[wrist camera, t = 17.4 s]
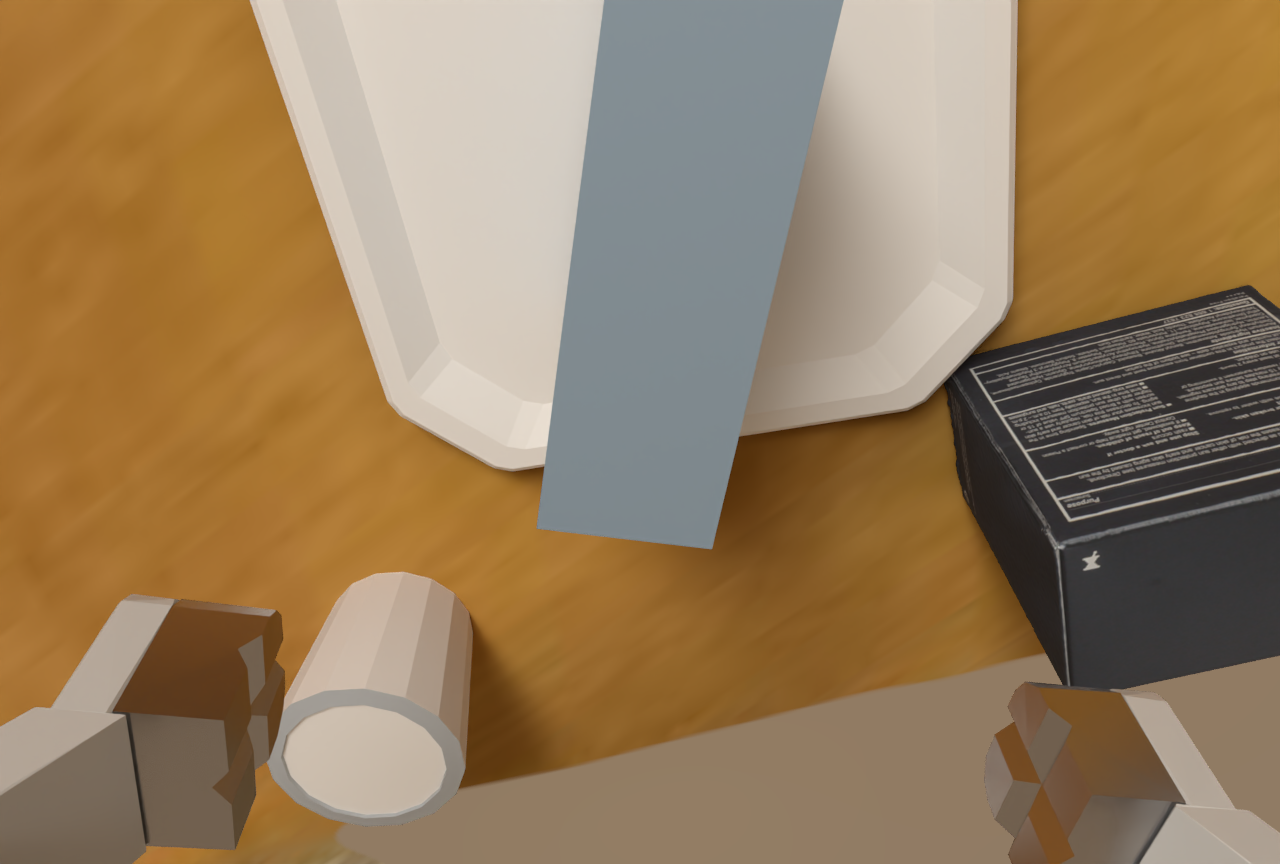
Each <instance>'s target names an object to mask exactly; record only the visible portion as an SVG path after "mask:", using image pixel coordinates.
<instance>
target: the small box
mask: <svg viewBox="0 0 1280 864" xmlns="http://www.w3.org/2000/svg"><path fill="white" fill-rule="evenodd" d="M944 385H945V388H946V390H947V392H948V398H949V399H948V402H947V403H948V405H949V406H950V413H951V418H952V427H953V430H954V445H955V447H956V455H957V461H956V466H957V472H958V475H959V480H960V484H961V486H962V491H963V496H964V499H965V500H966V502H967V504H968V505H969V507H970V509H971V510H972V513H973V515H974V517H975V518H976V520H977V523H978V524H979V526H980V528H981V530H982V531H983V533H984V535H985V537H986V539H987V541H988V542H989V545H990V547H991V549H992V551H993V552H994V555H995V557H996V558H997V560H998V563H999V564H1000V566H1001V568H1002V570H1003V571H1004V573H1005V575H1006V577H1007V579H1008V581H1009V583H1010V585H1011V587H1012V589H1013V591H1014V593H1015V594H1016V596H1017V598H1018V600H1019V602H1020V604H1021V606H1022V608H1023V610H1024V611H1025V613H1026V616H1027V618H1028V619H1029V621H1030V623H1031V625H1032V627H1033V628H1034V631H1035V633H1036V635H1037V637H1038V639H1039V641H1040V643H1041V645H1042V646H1043V648H1044V650H1045V652H1046V654H1047V656H1048V657H1049V659H1050V661H1051V663H1052V665H1053V667H1054V669H1055V671H1056V673H1057V675H1058V676H1059V678H1060V680H1061V682H1062V684H1063V685H1068V686H1079V687H1091V688H1102V689H1107V690H1110V689H1121V690H1122V689H1127V688H1131V687H1136V686H1140V685H1144V684H1149V683H1153V682H1158V681H1163V680H1167V679H1172V678H1177V677H1181V676H1186V675H1190V674H1196V673H1200V672H1205V671H1210V670H1214V669H1219V668H1224V667H1228V666H1233V665H1237V664H1242V663H1247V662H1252V661H1256V660H1261V659H1266V658H1270V657H1275V656H1279V655H1280V309H1279V308H1278V307H1276V306H1275V305H1274V304H1273V303H1272V302H1271V301H1269V300H1267V299H1266V298H1265V297H1263V296H1262V295H1261V294H1260V293H1259V292H1258V291H1257V290H1256V289H1254V288H1253V287H1252V286H1249V285H1247V286H1243V287H1239V288H1235V289H1231V290H1227V291H1222V292H1219V293H1215V294H1210V295H1206V296H1202V297H1198V298H1195V299H1191V300H1187V301H1184V302H1179V303H1175V304H1171V305H1167V306H1163V307H1159V308H1155V309H1151V310H1147V311H1144V312H1140V313H1136V314H1132V315H1128V316H1124V317H1120V318H1116V319H1112V320H1108V321H1104V322H1101V323H1097V324H1093V325H1089V326H1085V327H1081V328H1077V329H1073V330H1069V331H1065V332H1061V333H1057V334H1053V335H1050V336H1046V337H1042V338H1038V339H1034V340H1030V341H1026V342H1022V343H1019V344H1014V345H1010V346H1006V347H1002V348H998V349H995V350H992V351H987V352H983V353H980V354H975V355H972V356H969V357H968V358H967V359H966V360H965V361H964V362H963V363H962V364H961V365H960V366H959V367H958V368H957V369H956V370H955V372H954V373H953V374H952V375H951V376H950V377H949V378H948V379H947V380H946V381H945V382H944Z"/></svg>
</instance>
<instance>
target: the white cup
mask: <svg viewBox="0 0 1280 864" xmlns="http://www.w3.org/2000/svg"><path fill="white" fill-rule="evenodd" d="M472 643H473V630H472V625H471V620H470V615H469V612H468V610H467V609H466V608H465V606H464V605H463V604H462V602H461V601H460V600H459V598H458V597H457V596H456V594H455V593H453V592H452V591H450V590H449V589H447V588H445V587H444V586H442V585H441V584H439V583H437V582H436V581H434V580H433V579H430V578H426V577H422V576H418V575H414V574H410V573H406V572H395V573H378V574H374V575H372V576H369V577H367V578H364V579H362V580H360V581H357V582H355V583H353V584H352V585H351V586H350V587H349V588H348V589H347V590H346V591H345V592H344V593H343V594H342V595H341V596H340V597H339V599H338V600H337V601H336V603H335V605H334V607H333V609H332V610H331V612H330V614H329V616H328V618H327V620H326V622H325V624H324V625H323V627H322V629H321V631H320V633H319V635H318V637H317V638H316V640H315V642H314V644H313V646H312V648H311V650H310V652H309V653H308V655H307V657H306V659H305V661H304V663H303V665H302V666H301V668H300V670H299V672H298V674H297V676H296V678H295V680H294V681H293V683H292V685H291V687H290V689H289V691H288V693H287V694H286V696H285V698H284V707H283V713H282V718H281V722H280V727H279V731H278V736H277V739H276V742H275V745H274V747H273V750H272V753H271V756H270V759H269V760H268V761H267V763H268V766H269V769H270V772H271V774H272V777H273V780H274V781H275V782H276V783H277V784H278V785H279V786H280V787H281V788H282V789H283V790H284V791H285V792H286V793H287V794H288V795H289V796H290V797H291V798H292V799H293V800H294V801H295V802H296V803H298V804H300V805H302V806H304V807H306V808H308V809H310V810H312V811H314V812H316V813H318V814H320V815H322V816H324V817H326V818H328V819H331V820H336V821H341V822H346V823H350V824H355V825H361V826H367V827H368V826H385V825H386V826H387V825H403V824H405V823H408V822H411V821H414V820H417V819H420V818H422V817H425V816H428V815H431V814H434V813H435V812H436V811H437V810H439V809H440V808H441V807H442V806H443V805H444V804H445V803H447V802H448V801H449V800H450V799H451V798H452V797H453V796H455V795H456V793H457V791H458V788H459V785H460V782H461V780H462V777H463V774H464V772H465V767H466V750H467V732H468V714H469V696H470V679H471V661H472Z"/></svg>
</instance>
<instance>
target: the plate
mask: <svg viewBox="0 0 1280 864" xmlns="http://www.w3.org/2000/svg"><path fill="white" fill-rule="evenodd" d="M250 3H251V6H252V8H253V11H254V14H255V17H256V20H257V23H258V26H259V29H260V32H261V35H262V38H263V40H264V43H265V46H266V49H267V52H268V55H269V58H270V61H271V64H272V67H273V70H274V72H275V75H276V78H277V81H278V84H279V87H280V90H281V93H282V96H283V99H284V102H285V104H286V107H287V110H288V113H289V116H290V119H291V122H292V125H293V128H294V131H295V134H296V136H297V139H298V142H299V145H300V148H301V151H302V154H303V157H304V160H305V163H306V166H307V168H308V171H309V174H310V177H311V180H312V183H313V186H314V189H315V192H316V195H317V198H318V200H319V203H320V206H321V209H322V212H323V215H324V218H325V221H326V224H327V227H328V230H329V232H330V235H331V238H332V241H333V244H334V247H335V250H336V253H337V256H338V259H339V262H340V264H341V267H342V270H343V273H344V276H345V279H346V282H347V285H348V288H349V291H350V294H351V296H352V299H353V302H354V305H355V308H356V311H357V314H358V317H359V320H360V323H361V326H362V328H363V331H364V334H365V337H366V340H367V343H368V346H369V349H370V352H371V355H372V358H373V360H374V363H375V366H376V369H377V372H378V375H379V378H380V381H381V384H382V387H383V390H384V392H385V395H386V398H387V401H388V402H389V404H390V405H391V406H392V407H393V408H394V409H395V411H396V412H397V413H398V414H399V415H400V416H401V417H403V418H405V419H407V420H408V421H410V422H412V423H414V424H415V425H417V426H419V427H421V428H423V429H424V430H426V431H428V432H430V433H432V434H433V435H435V436H437V437H439V438H441V439H442V440H444V441H446V442H448V443H450V444H451V445H453V446H455V447H457V448H459V449H460V450H462V451H464V452H466V453H468V454H469V455H471V456H473V457H475V458H476V459H478V460H480V461H482V462H484V463H485V464H487V465H489V466H491V467H493V468H496V469H502V470H507V471H519V470H526V469H532V468H539V467H544V466H545V459H546V451H547V443H548V435H549V427H550V419H551V411H552V404H553V396H554V388H555V380H556V372H557V364H558V356H559V349H560V341H561V333H562V325H563V317H564V309H565V302H566V294H567V286H568V278H569V270H570V263H571V255H572V247H573V239H574V231H575V224H576V216H577V208H578V200H579V192H580V185H581V177H582V169H583V161H584V153H585V146H586V138H587V130H588V122H589V114H590V106H591V99H592V91H593V83H594V75H595V67H596V60H597V52H598V44H599V36H600V28H601V21H602V13H603V5H604V0H250ZM1017 14H1018V0H844V1H843V6H842V10H841V14H840V18H839V22H838V26H837V31H836V35H835V39H834V43H833V47H832V51H831V56H830V60H829V64H828V68H827V72H826V76H825V81H824V85H823V89H822V93H821V97H820V101H819V106H818V110H817V114H816V118H815V122H814V126H813V131H812V135H811V139H810V143H809V147H808V151H807V155H806V160H805V164H804V168H803V172H802V176H801V180H800V185H799V189H798V193H797V197H796V201H795V205H794V210H793V214H792V218H791V222H790V226H789V230H788V235H787V239H786V243H785V247H784V251H783V255H782V260H781V264H780V268H779V272H778V276H777V280H776V285H775V289H774V293H773V297H772V301H771V305H770V310H769V314H768V318H767V322H766V326H765V330H764V335H763V339H762V343H761V347H760V351H759V355H758V360H757V364H756V368H755V372H754V376H753V380H752V385H751V389H750V393H749V397H748V401H747V405H746V410H745V414H744V418H743V422H742V426H741V430H740V434H739V436H746V435H752V434H759V433H765V432H772V431H778V430H785V429H791V428H798V427H804V426H811V425H817V424H824V423H830V422H837V421H843V420H850V419H856V418H862V417H869V416H875V415H882V414H888V413H895V412H901V411H908V410H910V409H912V408H914V407H916V406H918V405H920V404H922V403H923V402H925V401H927V400H928V399H929V398H930V397H931V395H932V394H933V393H934V392H935V391H936V390H937V389H938V388H939V387H940V386H941V385H942V384H943V383H944V382H945V381H946V380H947V379H948V378H949V377H950V376H951V375H952V374H953V373H954V372H955V370H956V369H957V368H958V367H959V366H960V365H961V364H962V363H963V362H964V361H965V360H966V359H967V358H968V357H969V356H970V355H971V354H972V353H973V352H974V351H975V350H976V349H977V348H978V347H979V345H980V344H981V343H982V342H983V341H984V340H985V339H986V338H987V337H988V336H989V335H990V334H991V333H992V332H993V331H994V330H995V329H996V328H997V327H998V326H999V325H1000V324H1001V323H1002V322H1003V320H1004V319H1005V317H1006V315H1007V313H1008V310H1009V308H1010V306H1011V304H1012V301H1013V264H1014V201H1015V139H1016V76H1017Z"/></svg>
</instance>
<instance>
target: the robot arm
mask: <svg viewBox="0 0 1280 864" xmlns="http://www.w3.org/2000/svg"><path fill="white" fill-rule="evenodd" d="M282 641H283V629H282V616H281V614H280V613H279V612H278V611H277V610H270V609H262V608H253V607H245V606H237V605H228V604H220V603H211V602H203V601H195V600H186V599H181V600H176V599H169V598H161V597H152V596H144V595H136V594H131V595H129V596H128V597H127V598H125V599H124V600H122V601H121V602H120V603H119V604H118V605H117V607H116V608H115V610H114V611H113V613H112V614H111V616H110V617H109V619H108V620H107V622H106V624H105V625H104V627H103V628H102V630H101V631H100V633H99V634H98V636H97V637H96V639H95V640H94V642H93V644H92V645H91V647H90V648H89V650H88V651H87V653H86V654H85V656H84V657H83V659H82V660H81V662H80V664H79V665H78V667H77V668H76V670H75V671H74V673H73V674H72V676H71V677H70V679H69V680H68V682H67V684H66V685H65V687H64V688H63V690H62V691H61V693H60V694H59V696H58V697H57V699H56V700H55V702H54V704H53V705H52V707H51V708H41V707H34V708H32V709H31V710H29V711H27V712H25V713H24V714H22V715H20V716H18V717H17V718H15V719H13V720H11V721H9V722H8V723H6V724H4V725H2V726H1V727H0V864H132V863H133V862H134V861H136V860H137V859H138V858H139V857H140V856H141V855H142V854H144V853H145V852H146V846H161V847H183V848H204V849H226V850H235V849H236V846H237V844H238V841H239V838H240V836H241V833H242V830H243V828H244V825H245V823H246V820H247V817H248V815H249V812H250V809H251V807H252V804H253V802H254V799H255V796H256V785H255V770H256V769H257V768H258V767H260V766H261V765H262V764H264V763H265V762H267V761H268V760H269V759H270V756H271V753H272V750H273V747H274V745H275V742H276V739H277V736H278V731H279V727H280V722H281V718H282V713H283V707H284V695H285V670H284V669H283V668H282V667H281V666H280V665H279V664H278V663H277V662H276V660H275V658H276V656H277V653H278V651H279V648H280V646H281V643H282ZM1008 709H1009V711H1010V713H1011V716H1012V718H1013V720H1014V722H1013V723H1011V724H1010V725H1008V726H1007V727H1005V728H1004V729H1002V730H1001V731H1000V732H998V733H997V734H995V735H994V737H993V740H992V742H991V745H990V747H989V750H988V752H987V755H986V763H985V777H984V781H985V788H986V793H987V800H988V802H989V805H990V808H991V810H992V813H993V816H994V819H995V820H996V821H997V822H998V823H1000V825H1001V826H1003V827H1004V828H1005V829H1006V830H1007V831H1008V832H1009V833H1010V834H1011V835H1013V837H1014V838H1015V839H1014V841H1013V844H1012V846H1011V849H1010V851H1009V854H1008V855H1009V858H1010V860H1011V863H1012V864H1280V833H1279V832H1278V831H1276V830H1275V829H1274V828H1272V827H1271V826H1269V825H1268V824H1267V823H1265V822H1264V821H1262V820H1261V819H1260V818H1258V817H1257V816H1256V815H1255V814H1253V813H1252V812H1250V811H1247V810H1237V809H1235V807H1234V806H1233V804H1232V803H1231V801H1230V799H1229V798H1228V796H1227V795H1226V793H1225V792H1224V790H1223V789H1222V787H1221V785H1220V784H1219V782H1218V781H1217V779H1216V778H1215V776H1214V775H1213V773H1212V772H1211V770H1210V768H1209V767H1208V765H1207V764H1206V762H1205V761H1204V759H1203V757H1202V756H1201V754H1200V753H1199V751H1198V750H1197V748H1196V747H1195V745H1194V743H1193V742H1192V740H1191V739H1190V737H1189V736H1188V734H1187V732H1186V731H1185V729H1184V728H1183V726H1182V725H1181V723H1180V722H1179V720H1178V719H1177V717H1176V715H1175V714H1174V712H1173V711H1172V709H1171V708H1170V706H1169V704H1168V703H1167V701H1166V700H1164V699H1163V698H1162V697H1160V696H1159V695H1157V694H1156V693H1155V692H1146V691H1133V690H1121V689H1110V690H1107V689H1102V688H1091V687H1079V686H1068V685H1056V684H1045V683H1033V682H1024V683H1023V684H1022V685H1021V686H1020V687H1019V688H1018V689H1016V690H1015V692H1014V694H1013V696H1012V698H1011V700H1010V702H1009V705H1008Z"/></svg>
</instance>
